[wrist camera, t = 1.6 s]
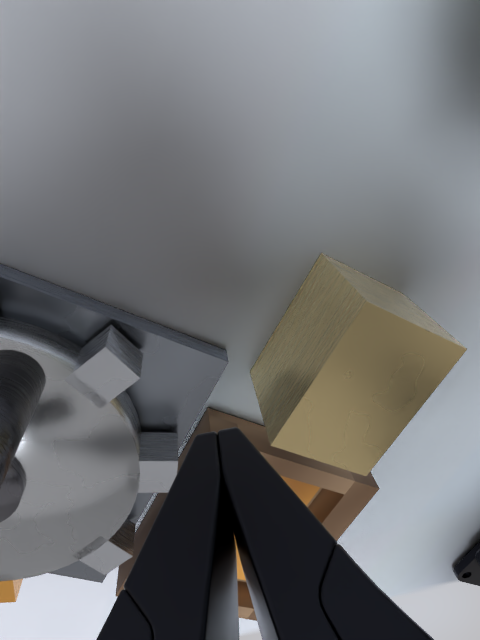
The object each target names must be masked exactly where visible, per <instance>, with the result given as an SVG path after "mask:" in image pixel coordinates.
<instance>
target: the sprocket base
mask: <svg viewBox="0 0 480 640" xmlns="http://www.w3.org/2000/svg"><path fill="white" fill-rule="evenodd" d="M0 316H1V317H7V318H12V319H16V320H19V321H23V322H26V323H30V324H33V325H36V326H39V327H41V328H44V329H46V330H48V331H51V332H53V333H56V334H58V335H60V336H62V337H64V338H65V339H67V340H69V341H71V342H73V343H75V344H76V345H78V346H79V347H81V348H82V347H83V346H85V345H86V344H87V343H88V342H90V341H91V340H92V339H93V338H95V337H96V336H97V335H98V334H100V333H101V332H102V331H103V330H105V329H106V328H107V327H108V326H110V325H111V324H112V325H113V326H114V327H115V328H116V329H117V330H118V331H119V332H120V333H121V334H122V335H124V336H125V337H126V338H127V339H128V340H129V341H130V342H131V343H132V344H133V345H134V346H135V347H136V348H138V349H139V350H140V351H141V352H142V353H143V359H142V368H141V377H140V379H139V380H137V381H136V382H135V383H133V384H132V385H131V386H129V387H128V388H127V389H125V391H126V393H127V394H128V396H129V397H130V399H131V401H132V403H133V405H134V408H135V410H136V412H137V415H138V418H139V422H140V426H141V432H167V433H178V449H179V448H180V446H181V444H182V442H183V441H184V439H185V437H186V435H187V434H188V432H189V430H190V428H191V427H192V425H193V423H194V421H195V420H196V418H197V416H198V414H199V413H200V411H201V409H202V407H203V406H204V404H205V402H206V400H207V399H208V397H209V395H210V393H211V392H212V390H213V388H214V386H215V385H216V383H217V381H218V379H219V378H220V376H221V374H222V372H223V371H224V369H225V367H226V365H227V364H228V358H227V353H226V350H224V349H222V348H219V347H217V346H214V345H211V344H209V343H206V342H203V341H201V340H198V339H196V338H193V337H190V336H188V335H185V334H183V333H180V332H177V331H175V330H172V329H170V328H167V327H164V326H162V325H159V324H156V323H154V322H151V321H149V320H146V319H143V318H141V317H138V316H136V315H133V314H130V313H128V312H125V311H123V310H120V309H117V308H115V307H112V306H109V305H107V304H104V303H102V302H99V301H96V300H94V299H91V298H89V297H86V296H83V295H81V294H78V293H75V292H73V291H70V290H68V289H65V288H62V287H60V286H57V285H55V284H52V283H49V282H47V281H44V280H42V279H39V278H36V277H34V276H31V275H28V274H26V273H23V272H21V271H18V270H15V269H13V268H10V267H8V266H5V265H2V264H0ZM152 495H153V493H137V496H136V500H135V503H134V505H133V507H132V509H131V512H130V514H129V515H128V517H127V519H129V520H130V521H132V522H133V523H135V524H136V523H137V521H138V519H139V517H140V516H141V514H142V512H143V511H144V509H145V507H146V505H147V504H148V502H149V500H150V498H151V497H152ZM48 573H51V574H57V575H62V576H68V577H73V578H79V579H84V580H90V581H95V582H101V583H102V582H103V580H104V579H105V577H106V575H107V574H106V575H103V574H102V573H100V572H98V571H97V570H95V569H93V568H92V567H90V566H88V565H86V564H85V563H83V562H81V561H80V560H78V561H76V562H74V563H72V564H70V565H68V566H65V567H63V568H60V569H58V570H55V571H52V572H48Z"/></svg>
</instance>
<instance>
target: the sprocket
mask: <svg viewBox="0 0 480 640" xmlns="http://www.w3.org/2000/svg"><path fill="white" fill-rule="evenodd" d="M142 359H143V353H142V352H141V351H140V350H139V349H138V348H136V347H135V346H134V345H133V344H132V343H131V342H130V341H129V340H128V339H127V338H126V337H125V336H124V335H122V334H121V333H120V332H119V331H118V330H117V329H116V328H115V327H114V326H113V325H112V324H111V325H110V326H108V327H107V328H106V329H105V330H103V331H102V332H101V333H100V334H98V335H97V336H96V337H95V338H93V339H92V340H91V341H90V342H88V343H87V344H86V345H85V346H83V347H82V348H81V347H79V346H78V345H76V344H75V343H73V342H71V341H69V340H67V339H65V338H64V337H62V336H60V335H58V334H56V333H53V332H51V331H48V330H46V329H44V328H41V327H39V326H36V325H33V324H30V323H26V322H23V321H19V320H16V319H12V318H7V317H1V316H0V603H4V602H16V599H17V596H18V593H19V590H20V586H21V583H22V580H23V578H28V577H34V576H38V575H41V574H45V573H48V572H52V571H55V570H58V569H60V568H63V567H65V566H68V565H70V564H72V563H74V562H76V561H78V560H80V561H81V562H83V563H85V564H86V565H88V566H90V567H92V568H93V569H95V570H97V571H98V572H100V573H102V574H103V575H106V574H107V573H109V572H110V571H112V570H113V569H115V568H116V567H118V566H119V565H121V564H122V563H124V562H125V561H127V560H128V559H130V558H131V557H133V547H134V535H135V523H133V522H132V521H130V520H129V519H127V517H128V515H129V514H130V512H131V509H132V507H133V505H134V503H135V500H136V496H137V493H168V492H169V490H170V488H171V486H172V484H173V481H174V479H175V477H176V475H177V468H178V433H167V432H141V426H140V422H139V418H138V415H137V412H136V410H135V408H134V405H133V403H132V401H131V399H130V397H129V396H128V394H127V393H126V391H125V389H127V388H128V387H129V386H131V385H132V384H133V383H135V382H136V381H137V380H139V379H140V377H141V368H142Z"/></svg>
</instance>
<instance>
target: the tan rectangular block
mask: <svg viewBox="0 0 480 640" xmlns="http://www.w3.org/2000/svg"><path fill="white" fill-rule="evenodd" d="M466 350H467V349H466V348H465V347H464V346H463V345H462V344H461V343H459V342H458V341H457V340H456V339H455V338H454V337H452V336H451V335H450V334H449V333H448V332H447V331H446V330H444V329H443V328H442V327H441V326H440V325H439V324H437V323H436V322H435V321H434V320H433V319H432V318H430V317H429V316H428V315H427V314H426V313H425V312H424V311H422V310H421V309H420V308H419V307H418V306H417V305H415V304H414V303H413V302H412V301H411V300H410V299H408V298H407V297H406V296H405V295H404V294H403V293H401V292H399V291H397V290H395V289H393V288H391V287H389V286H387V285H385V284H383V283H381V282H379V281H377V280H375V279H373V278H371V277H369V276H367V275H365V274H363V273H361V272H359V271H357V270H355V269H353V268H351V267H349V266H347V265H345V264H343V263H341V262H339V261H337V260H335V259H333V258H331V257H329V256H327V255H325V254H323V253H321V254H320V256H319V258H318V259H317V261H316V263H315V264H314V266H313V268H312V269H311V271H310V273H309V274H308V276H307V278H306V279H305V281H304V283H303V284H302V286H301V288H300V289H299V291H298V293H297V294H296V296H295V298H294V299H293V301H292V303H291V304H290V306H289V308H288V309H287V311H286V313H285V314H284V316H283V318H282V319H281V321H280V322H279V324H278V326H277V327H276V329H275V331H274V332H273V334H272V336H271V337H270V339H269V341H268V342H267V344H266V346H265V347H264V349H263V351H262V352H261V354H260V356H259V357H258V359H257V361H256V362H255V364H254V366H253V367H252V369H251V371H250V374H251V378H252V381H253V385H254V388H255V392H256V396H257V399H258V403H259V406H260V410H261V413H262V417H263V421H264V424H265V428H266V431H267V435H268V439H269V442H270V446H274V447H277V448H280V449H283V450H286V451H289V452H292V453H295V454H298V455H301V456H305V457H308V458H311V459H314V460H317V461H320V462H323V463H326V464H329V465H332V466H336V467H339V468H342V469H345V470H348V471H351V472H354V473H357V474H360V475H363V476H367V475H368V473H369V472H370V471H371V470H372V468H373V467H374V466H375V464H376V463H377V462H378V461H379V459H380V458H381V457H382V456H383V454H384V453H385V452H386V451H387V449H388V448H389V447H390V446H391V444H392V443H393V442H394V441H395V439H396V438H397V437H398V436H399V434H400V433H401V432H402V430H403V429H404V428H405V427H406V425H407V424H408V423H409V422H410V420H411V419H412V418H413V417H414V415H415V414H416V413H417V412H418V410H419V409H420V408H421V407H422V405H423V404H424V403H425V402H426V400H427V399H428V398H429V397H430V395H431V394H432V393H433V391H434V390H435V389H436V388H437V386H438V385H439V384H440V383H441V381H442V380H443V379H444V378H445V376H446V375H447V374H448V373H449V371H450V370H451V369H452V368H453V366H454V365H455V364H456V363H457V361H458V360H459V359H460V358H461V356H462V355H463V354H464V352H465V351H466Z"/></svg>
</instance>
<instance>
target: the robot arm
mask: <svg viewBox="0 0 480 640" xmlns="http://www.w3.org/2000/svg"><path fill="white" fill-rule="evenodd" d="M234 535H235V536H234ZM235 540H236V544H235ZM236 545H237V549H238V553H239V557H240V561H241V565H242V568H243V572H244V575H245V579H246V582H247V586H248V590H249V593H250V597H251V600H252V604H253V607H254V611H255V615H256V618H257V622H258V625H259V629H260V632H261V636H262V639H263V640H434V639H433V638H432V637H431V636H430V635H429V634H427V633H426V632H425V631H424V630H423V629H422V628H421V627H420V626H419V625H417V623H415V622H414V621H413V620H412V619H411V618H410V617H409V616H408V615H407V614H406V613H405V612H403V611H402V610H401V609H400V608H399V607H398V606H397V605H396V604H395V603H394V602H393V601H392V600H391V599H390V598H389V597H388V596H387V595H386V594H385V593H384V592H383V591H382V590H381V589H380V588H379V587H378V586H377V585H376V584H375V583H374V582H373V581H372V580H371V579H370V578H369V577H368V575H367V574H366V573H365V572H364V571H363V570H362V569H361V568H360V567H359V566H358V565H357V564H356V562H355V561H354V560H353V559H352V558H351V557H350V556H349V554H348V553H347V552H346V551H345V550H344V549H343V547H342V546H341V545H339V544H338V545H337V541H336V540H335V539H334V537H333V536H332V535H331V534H330V533H329V532H328V530H327V529H326V528H325V527H324V526H323V525H322V524H321V522H320V521H319V520H318V519H317V518H316V517H315V515H314V514H313V513H312V512H311V511H310V510H309V509H308V507H307V506H306V505H305V504H304V503H303V502H302V500H301V499H300V498H299V497H298V496H297V495H296V493H295V492H294V491H293V490H292V489H291V488H290V487H289V485H288V484H287V483H286V482H285V481H284V480H283V478H282V477H281V476H280V475H279V474H278V473H277V472H276V470H275V469H274V468H273V467H272V466H271V465H270V463H269V462H268V461H267V460H266V459H265V458H264V456H263V455H262V454H261V453H260V452H259V451H258V450H257V448H256V447H255V446H254V445H253V444H252V443H251V441H250V440H249V439H248V438H247V437H246V436H245V435H244V433H243V432H242V431H241V430H240V429H239V428H237V427H233V428H228V429H223V430H219V431H218V435H217V433H216V432H215V431H212V432H207V433H202V434H198V435H196V436H195V438H194V440H193V442H192V444H191V446H190V448H189V450H188V452H187V454H186V456H185V459H184V461H183V463H182V465H181V467H180V469H179V471H178V473H177V475H176V477H175V479H174V481H173V484H172V486H171V488H170V490H169V492H168V494H167V496H166V498H165V500H164V502H163V504H162V506H161V508H160V511H159V513H158V515H157V517H156V519H155V521H154V523H153V525H152V527H151V529H150V531H149V533H148V536H147V538H146V540H145V542H144V544H143V546H142V548H141V550H140V552H139V554H138V556H137V558H136V561H135V563H134V565H133V567H132V569H131V571H130V573H129V575H128V577H127V579H126V581H125V583H124V586H123V587H124V589H123V590H121V591H120V593H119V595H118V598H117V600H116V602H115V604H114V606H113V608H112V610H111V612H110V614H109V616H108V618H107V620H106V622H105V624H104V626H103V628H102V630H101V632H100V634H99V636H98V638H97V640H239V616H238V585H237V557H236ZM453 571H454V573H455V575H456V577H457V578H458V580H459V581H462V582H466V583H470V584H474V585H478V586H480V542H479V543H478V544H477V545H476V546H475V547H474V548H473V549H472V550H471V551H470V552H469V553H468V554H467V555H466V556H465V557H464V558H463V559H462V560H461V561H460V562H459V563H458V564H457V565H456V566H455V567H454V569H453Z"/></svg>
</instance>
